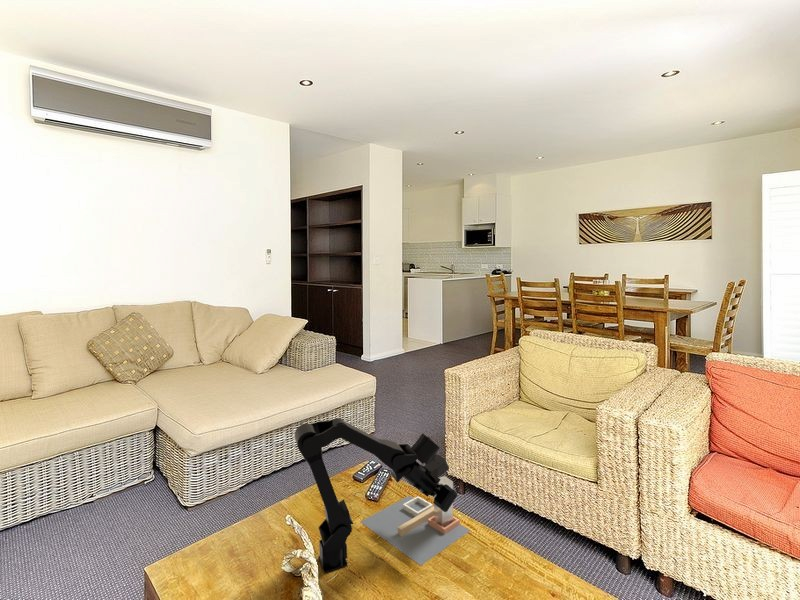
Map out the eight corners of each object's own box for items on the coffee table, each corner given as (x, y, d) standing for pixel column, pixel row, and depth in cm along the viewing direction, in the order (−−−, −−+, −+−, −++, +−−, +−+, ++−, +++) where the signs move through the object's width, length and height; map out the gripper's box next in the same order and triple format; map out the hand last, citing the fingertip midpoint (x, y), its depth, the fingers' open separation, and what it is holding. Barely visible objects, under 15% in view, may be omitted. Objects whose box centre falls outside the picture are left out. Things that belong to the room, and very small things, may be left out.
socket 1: (417, 517, 135) (417, 513, 135) (402, 508, 140) (402, 504, 140) (432, 509, 139) (432, 504, 139) (417, 500, 144) (417, 496, 144)
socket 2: (444, 534, 127) (444, 529, 127) (427, 524, 132) (427, 519, 132) (459, 524, 131) (459, 519, 131) (442, 514, 136) (442, 510, 136)
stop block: (442, 527, 129) (442, 485, 127) (434, 520, 132) (434, 479, 131) (452, 522, 131) (452, 481, 129) (444, 516, 134) (444, 476, 133)
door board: (420, 570, 114) (420, 558, 114) (360, 526, 134) (359, 515, 133) (470, 535, 129) (470, 524, 128) (409, 499, 148) (409, 489, 147)
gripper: (452, 463, 119) (482, 490, 126) (415, 439, 135) (444, 464, 142) (428, 499, 116) (460, 525, 123) (393, 469, 132) (423, 494, 139)
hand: (447, 499), depth 131 cm, fingers closed on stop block, 4 cm apart
